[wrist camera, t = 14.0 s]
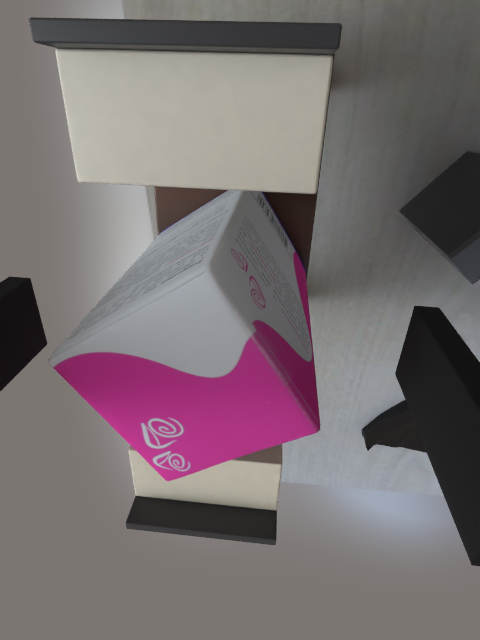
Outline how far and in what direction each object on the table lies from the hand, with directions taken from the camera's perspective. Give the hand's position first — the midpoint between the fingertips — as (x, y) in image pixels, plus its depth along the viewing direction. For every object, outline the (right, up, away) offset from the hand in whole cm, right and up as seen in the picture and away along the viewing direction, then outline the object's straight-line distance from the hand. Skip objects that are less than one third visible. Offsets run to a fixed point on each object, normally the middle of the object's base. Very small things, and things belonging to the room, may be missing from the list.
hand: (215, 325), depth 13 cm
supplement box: (+1, +4, +7) cm, 8 cm away
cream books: (0, +4, +7) cm, 8 cm away
